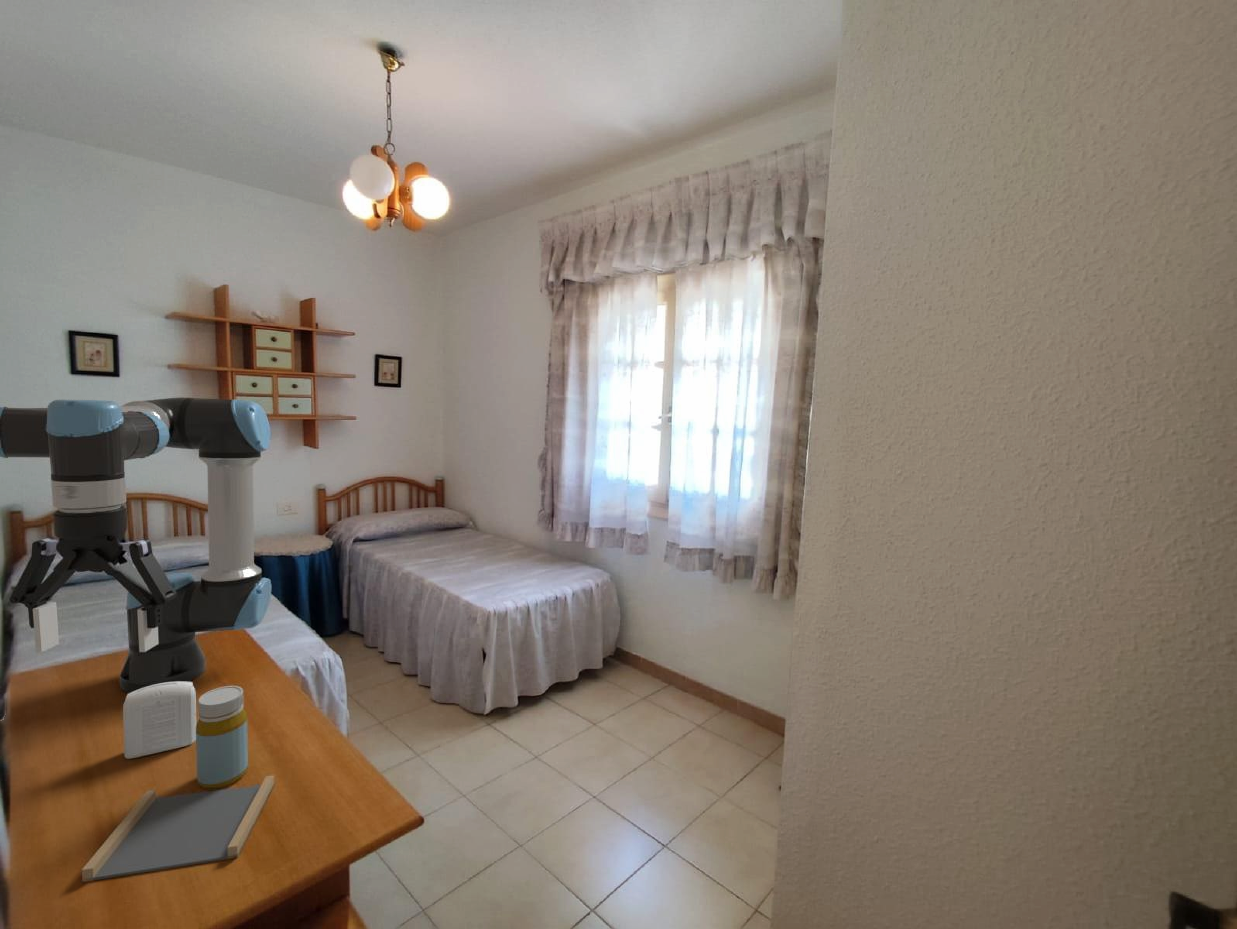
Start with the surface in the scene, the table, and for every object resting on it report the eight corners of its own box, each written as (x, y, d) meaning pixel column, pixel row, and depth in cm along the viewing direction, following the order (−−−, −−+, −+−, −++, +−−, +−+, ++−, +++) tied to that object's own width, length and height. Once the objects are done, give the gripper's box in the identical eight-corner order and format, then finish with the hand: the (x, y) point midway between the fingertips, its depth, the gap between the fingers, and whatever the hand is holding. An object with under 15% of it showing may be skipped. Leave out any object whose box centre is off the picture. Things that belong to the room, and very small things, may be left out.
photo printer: (198, 733, 103) (196, 672, 102) (195, 745, 99) (193, 683, 98) (127, 749, 97) (124, 686, 96) (122, 763, 94) (118, 697, 92)
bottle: (188, 783, 90) (185, 700, 88) (231, 759, 96) (229, 681, 95) (214, 796, 87) (212, 710, 86) (257, 770, 94) (255, 690, 92)
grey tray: (147, 801, 85) (146, 791, 85) (274, 785, 90) (274, 775, 90) (82, 882, 71) (81, 869, 71) (237, 857, 76) (237, 846, 76)
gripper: (-37, 510, 71) (-24, 660, 73) (166, 515, 74) (172, 659, 76) (19, 500, 78) (29, 636, 81) (202, 505, 81) (206, 636, 84)
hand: (98, 648), depth 78 cm, fingers open, 13 cm apart
